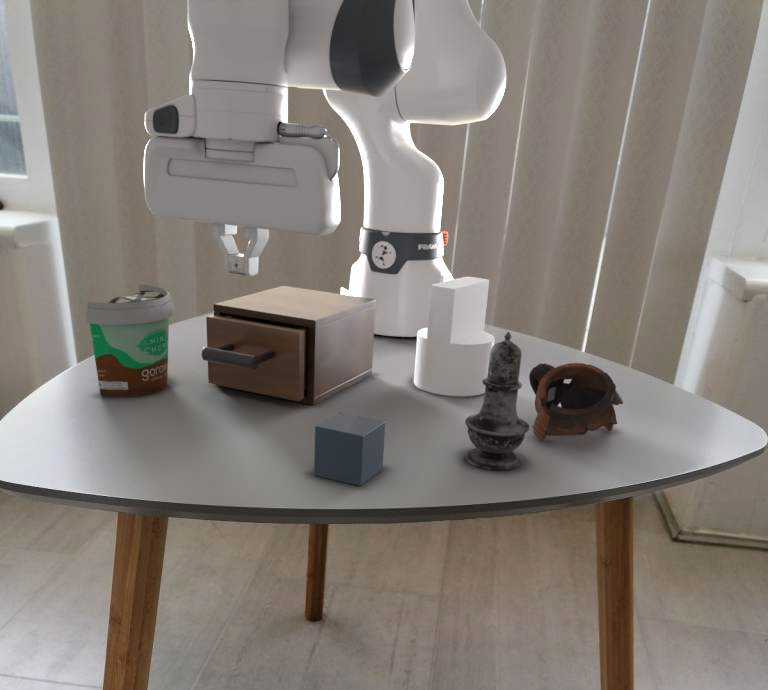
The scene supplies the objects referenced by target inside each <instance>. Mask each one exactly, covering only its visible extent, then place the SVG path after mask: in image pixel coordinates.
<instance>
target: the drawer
mask: <svg viewBox="0 0 768 690" xmlns="http://www.w3.org/2000/svg"><path fill="white" fill-rule="evenodd" d="M205 321H206V346H205V347H203V348H202V351H201V359H202V360H203V361H205V362H207V380H208V381H207V382H208V384H210V385H215V386H217V385H220V386H219V387H222V386H225V387H224V388H226V387H230V388H229V389H231V388H235V389H234V390H236V389H240V390H239V391H241V390H245V391H244V392H246V391H250V392H249V393H251V392H255V393H254V394H256V393H260V394H259V395H261V394H265V395H264V396H266V395H270V396H269V397H271V396H274V397H273V398H276V397H279V398H278V399H280V398H284V399H283V400H285V399H289V400H288V401H290V400H294V401H293V402H295V401H300V400H302V399H304V392H305V391H307V390H308V339H309V327H305V326H299V325H293V324H287V323H281V322H275V321H269V320H263V319H257V318H251V317H244V316H238V315H232V314H229V315H226V316H225V317H222V316H216V315H214V314H211V315H207V316H206V318H205Z"/></svg>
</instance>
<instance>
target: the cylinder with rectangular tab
mask: <svg viewBox="0 0 768 690" xmlns="http://www.w3.org/2000/svg"><path fill="white" fill-rule="evenodd" d="M453 279H454V280H450V281H445V282H441V283H437V284H433V285H431V293H430V306H429V318H428V327H427V328H423V329H421V330H419V331H418V333H417V337H416V346H415V347H416V349H415V360H414V375H413V384H414V386H415V387H416V388H417V389H420V390H422V391H424V392H427V393H430V394H435V395H440V396H448V397H473V396H479V395H483V394H485V385H484V384H483V383H482V382H483V380H484V379H486V378H487V375H488V366H489V358H490V351H491V348H492V347H493V345H495V339H496V338H495V336H494V335H493V334H491V333H489V332H487V331H485V326H486V325H485V324H486V317H487V305H488V297H489V288H490V279H487V278H482V277H474V276H462V277H458V278H453Z"/></svg>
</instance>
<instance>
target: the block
mask: <svg viewBox="0 0 768 690" xmlns="http://www.w3.org/2000/svg"><path fill="white" fill-rule="evenodd" d="M385 432H386V421H384V420H380V419H376V418H375V419H374V418H370V417H364V416H359V415H354V414H350V413H345V412H341V411H340V412H338V413H335V414H334V415H333V416H331V417H329V418H327V419H325V420H324V421H322V422H320V423H319V424H316V425H315V427H314V464H313V465H314V466H313V475H314V476H316V477H320V478H324V479H329V480H332V481H337V482H342V483H346V484H350V485H354V486H359V487H362V486H363V485H364V484H365V483H366V482H368V481H369V480H371V479H372V478H373V477H374V476H377V474H379V473H380V472H381V471H382V470H383V467H384V452H385V451H384V449H385V436H386V433H385Z"/></svg>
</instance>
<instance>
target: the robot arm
mask: <svg viewBox="0 0 768 690" xmlns="http://www.w3.org/2000/svg"><path fill="white" fill-rule="evenodd" d="M186 7H187V8H186V9H187V11H186V12H187V28H188V31H189V34H190V39H191V41H192V42H191V43H192V51H193V52H192V63H191V67H190V71H189V93H187V94H184V95H182V96H180V97H178V98H175V99H172V100H170V101H168V102H165V103H162V104H160V105H157V106H155V107H152V108H150V109H147V110H146V112H145V113H144V127H145V130H146V132H147V133H148V134H149V135H150V136H153V137H151V138H150V139H149V140H148V142H147V144H146V145H145V149H144V155H143V156H144V157H143V185H144V186H143V187H144V199H145V204H146V206H147V208H148V209H149V211H150V213H151V214H152V215H153V216H154V217H160V218H168V219H176V220H184V221H191V222H193V221H194V222H202V223H208V224H209V223H210V224H212V236H213V238H214V240H215V242H216V244H217V246H218V248H219V250H220V252H221V254H222V255H223V270H224V273H226V274H234V275H241V276H247V277H252V276H253V277H254V276H257V275H258V273H259V257H260V256H261V254H262V252H263V250H264V249H265V247H266V245H267V243H268V241H269V240H270V231H277V232H285V233H294V234H302V235H310V236H324V235H329V234H330V235H331V234H332V233H334V232H335V231H336V229H337V228H338V226H339V225H340V223H341V194H340V183H339V176H338V175H339V174H338V172H339V168H340V153H341V150H340V144H339V142H338V140H337V138H336V137H335V136H334V134H333V133H331V132H330V131H328V130H327V128H326V127H325V126H323V125H321V124H320V125H319V124H311V125H305V124H300V123H294V122H293V123H292V122H289V87H290V88H298V89H309V90H322V92H323V95H324V97H325V99H326V101H327V103H328V104H329V106H330V107H331V108H332V110H334V112H335V113H337V114H338V116H340V118H341V119H342V120H343V122H344V123H345V124H346V126H347V127H348V128H349V130H350V132H351V134H352V136H353V139H354V140H355V143H356V145H357V149H358V152H359V154H360V158H361V163H362V168H363V169H362V170H363V185H364V187H363V189H364V190H363V191H364V194H363V195H364V197H363V198H364V199H363V200H364V201H363V203H364V204H363V225H362V226H361V227H360V231H359V237H358V242H359V244H358V245H359V248H358V249H359V250H358V251H359V253H360V257H359V258H358V260H356V261H355V262H353V264H352V265H351V268H350V275H349V283H348V284H349V285H348V289H346V288H344V287H343V286H342V287H340V294H343V295H350V296H356V297H363V298H370V299H376V305H375V324H374V335H379V336H386V337H402V338H405V337H406V338H417V333H418V331H419V330H421V329H423V328H427V327H428V318H429V306H430V293H431V285H433V284H437V283H441V282H445V281H450V280H454V279H455V278H454V277H453V276H452V274H451V272H450V271H449V269H448V267H447V266H446V263H445V262H444V259H443V256H444V255H445V254H444V253H445V252H444V246H447V244H448V242H449V236H450V235H449V232H448V231H447V230H446V231H445V230H444V231H441V224H442V223H441V222H442V209H443V197H444V187H445V180H444V177H443V174H442V171H441V168H440V167H439V165H438V164H437V163H436V162H435V161H434V160H433V159H432V158H431V157H429V156H428V155H426V154H425V153H423V152H422V151H421V150H419V149H418V148H417V147H416V145H415V143H414V140H413V138H412V134H411V126H410V125H411V124H426V125H443V126H457V125H464V124H471V123H476V122H483V121H486V120H487V119H489V118H490V117H491V116H492V114H494V112H495V111H496V110H497V108H498V107H499V105H500V103H501V101H502V99H503V97H504V93H505V90H506V86H507V67H506V62H505V59H504V56H503V53H502V51H501V49H500V48H499V46H498V45H497V43H496V42H495V41H494V40H493V39H492V38H491V37H490V36H489V35H488V34H487V33H486V32H485V30H484V29H483V28H482V26H481V25H480V23H479V22H478V20H477V19H476V17H475V14H474V13H473V10H472V8H471V5H470V1H469V0H186ZM326 137H327V138H329V139H325V138H326ZM238 227H242V228H243V227H244V238H245V239H246V240H249V242H248V244H247V246H246V249H245V251H244V253H240V251H239V249H238V246H237V244H236V241H235V238H234V236H236V235H237V233H238Z"/></svg>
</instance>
